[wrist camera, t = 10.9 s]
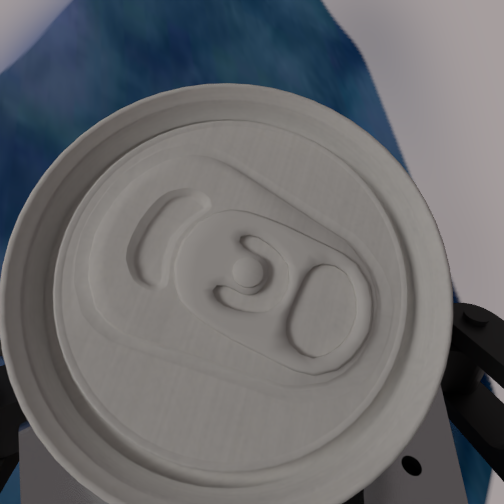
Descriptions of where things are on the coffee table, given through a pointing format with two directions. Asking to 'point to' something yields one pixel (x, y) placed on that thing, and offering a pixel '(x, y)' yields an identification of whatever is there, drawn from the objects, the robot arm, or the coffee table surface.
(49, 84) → the coffee table surface
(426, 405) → the soda can
